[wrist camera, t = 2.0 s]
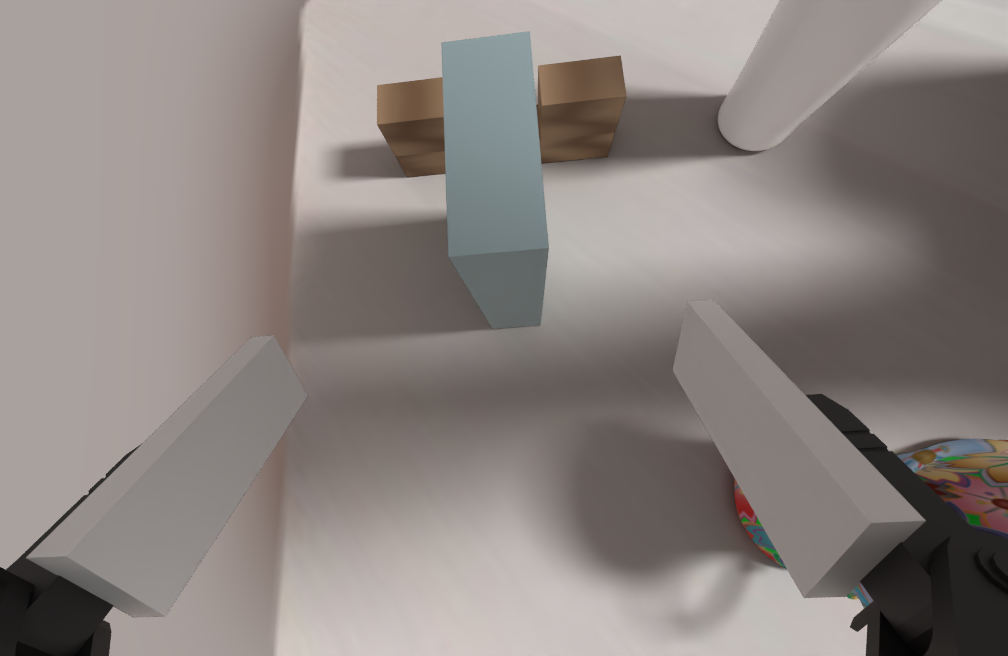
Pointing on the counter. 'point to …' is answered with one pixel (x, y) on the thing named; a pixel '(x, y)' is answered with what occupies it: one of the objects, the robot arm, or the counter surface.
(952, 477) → the mug
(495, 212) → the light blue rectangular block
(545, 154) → the wooden u-shaped block
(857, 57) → the drinking glass
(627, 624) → the counter surface
